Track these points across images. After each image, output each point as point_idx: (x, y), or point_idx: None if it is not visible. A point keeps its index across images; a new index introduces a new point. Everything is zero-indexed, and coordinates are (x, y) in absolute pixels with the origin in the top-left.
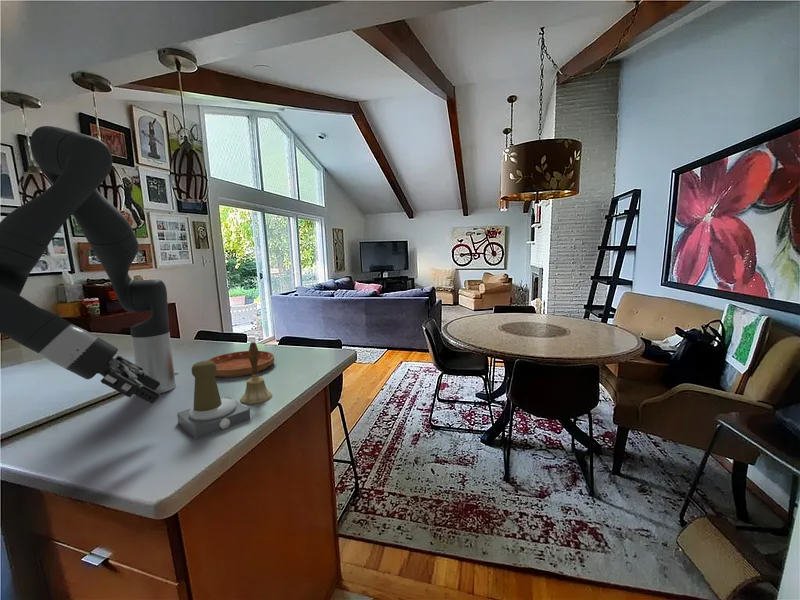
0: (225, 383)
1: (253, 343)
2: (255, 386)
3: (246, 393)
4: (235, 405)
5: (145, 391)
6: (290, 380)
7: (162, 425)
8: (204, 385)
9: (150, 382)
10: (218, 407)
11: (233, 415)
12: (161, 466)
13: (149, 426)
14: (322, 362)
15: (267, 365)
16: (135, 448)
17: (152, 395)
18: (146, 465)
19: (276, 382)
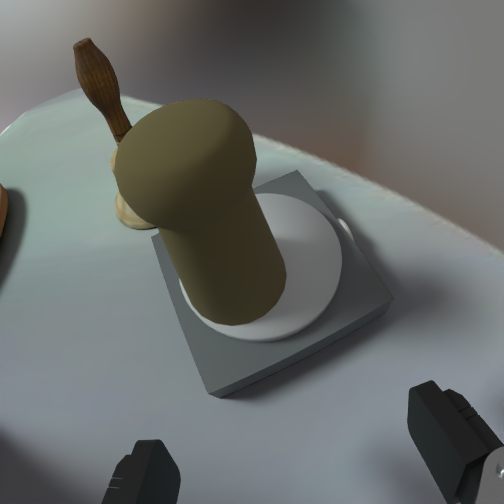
0: (8, 282)
1: (89, 39)
2: None
3: None
4: (273, 195)
5: (490, 433)
6: (100, 143)
7: (215, 446)
8: (259, 210)
9: (156, 492)
10: None
11: (324, 204)
12: (499, 361)
13: (202, 485)
14: (61, 113)
15: (4, 189)
16: (371, 485)
17: (466, 403)
18: (485, 404)
19: (88, 167)
